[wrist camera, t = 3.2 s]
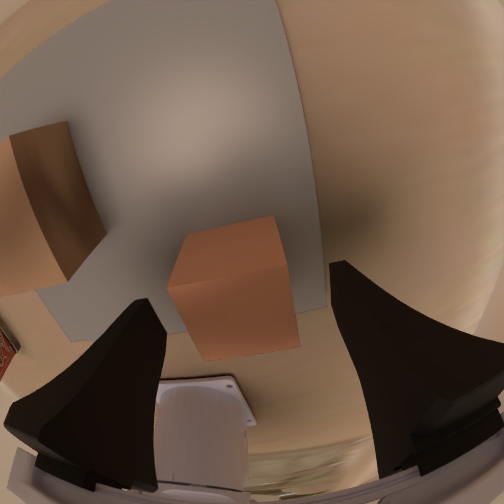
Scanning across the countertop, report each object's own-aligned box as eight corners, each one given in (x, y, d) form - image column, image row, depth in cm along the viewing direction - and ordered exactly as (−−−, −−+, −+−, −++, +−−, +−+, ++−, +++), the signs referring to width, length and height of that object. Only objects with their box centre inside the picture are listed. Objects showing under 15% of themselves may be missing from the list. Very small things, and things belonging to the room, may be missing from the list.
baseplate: (322, 295, 16) (326, 307, 15) (75, 332, 17) (71, 341, 16) (259, -33, 7) (261, -42, 6) (-20, 109, 8) (-30, 112, 7)
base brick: (106, 234, 12) (67, 282, 8) (36, 257, 12) (0, 297, 9) (67, 121, 9) (8, 135, 6) (0, 168, 9) (-48, 193, 6)
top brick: (287, 286, 14) (300, 346, 10) (211, 301, 14) (204, 361, 11) (273, 215, 12) (287, 264, 8) (186, 234, 12) (166, 287, 9)
